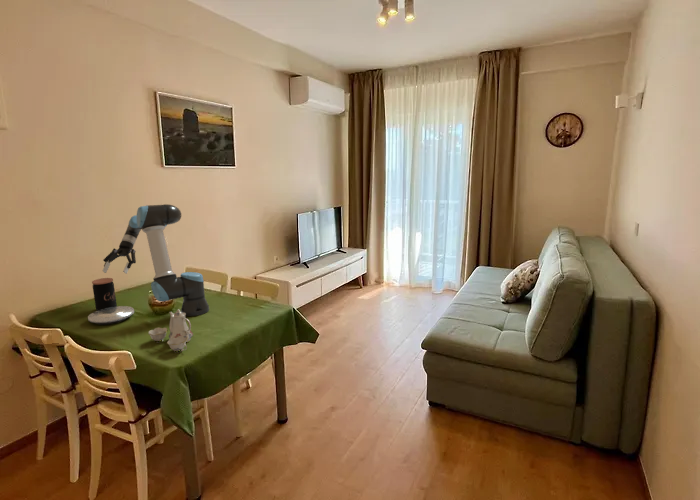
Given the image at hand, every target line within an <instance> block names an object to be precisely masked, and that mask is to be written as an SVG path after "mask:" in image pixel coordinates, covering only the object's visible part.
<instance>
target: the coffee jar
mask: <svg viewBox="0 0 700 500" xmlns="http://www.w3.org/2000/svg"><path fill="white" fill-rule="evenodd" d="M91 284H92V291H93V299H94V304H95V305H94V306H95V310H96V311H98V310H101V309H105V308H110V307H117V297H116V291H115V284H114V278H111V277H104V278H103V277H102V278H97V279H95V280H92V281H91Z"/></svg>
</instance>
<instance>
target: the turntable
mask: <svg viewBox="0 0 700 500" xmlns="http://www.w3.org/2000/svg"><path fill="white" fill-rule="evenodd" d="M134 313H135V309H134V308H133V307H132V306H127V305H120V306H119V305H118V306H117V307H110V308H105V309H101V310H98V311H97V310H96V311H92V312H91V313H90V314H88V316H87V320H88V322H90V323H92V324H96V323H108V322H114V321H118V320H122V319H125V318H127V317H128V318H130V317H131V316H132V315H134ZM128 318H127V319H128Z"/></svg>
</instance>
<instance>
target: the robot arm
mask: <svg viewBox="0 0 700 500" xmlns="http://www.w3.org/2000/svg"><path fill="white" fill-rule="evenodd" d="M181 219H182V212H181V209H180V208H178V207H177V206H175V205H174V204H167V203H165V204H152V205H150V204H149V205H148V204H146V205H143V206H139V207H138V208H137V210H136V215H133V216H131V217H130V219H129V221H128V225H127V226H126V230H125V232H124V235H123V237H121V238H122V239H121V241H120V243H119V246H118V249H116V248H114V247H113V249H112V250H111V251H110V253H108V255H106V257H104V258H103V260H102V261H103V262H104V265H103V269H102V272H103V273H104V274H107V272H108V270H109V268H110V266H111V263H112V262H113V261H115V260H116V259H118V258H119V257H125V258H126V259H127V262H126V264H125V266H124V269H123V271H122V272H123V273H124V274H128V271H129V269H131V267H132V265H133V264H136V262H137V261H136V260H137V259H136V250H135V249H134V246H135V244H136V241H137V239H138V237H139V235H140V233H141V231H142V232H143V233H145V234H146V239H147V243H148V248H149V251H150V257H151V261H152V265H153V270H154V273H155V274H154V275H155V276H154V277H153V281H151V284H150V286H151V287H150V288H151V291H152V295H153V297H154V298H155V299H156V300H157V301H158V302H160V303H161V302H168V301H172V300H177V299H181V298H182V299H183V301H182V305H181V309H180V311H181V312H183V313H186V315H185V317H195V316H201V315H203V314H206V313H208V312H209V311H210V306H209V303H208V300H207V299H206V295H205V282H204V276H203V274H202V273H200V272H196V271H195V272H194V271H186V272H182V273H180V276H177V274H176V272H173V269H172V265H171V260H170V256H169V251H168V248H167V247H168V246H167V243H166V238H165V233H164V230H165V229H166V227H167V226H168V225H173V224H176V223H178V222H180V221H181ZM130 255H131V256H130Z"/></svg>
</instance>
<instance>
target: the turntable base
mask: <svg viewBox="0 0 700 500" xmlns="http://www.w3.org/2000/svg"><path fill="white" fill-rule="evenodd" d="M128 318H129V317H127V318H125V319H122V320H118V321H114V322H108V323H95V324H96V325H99V326H100V325H101V326H102V325H103V326H104V325H114V324H118V323H121V322H123V321H126V320H128Z"/></svg>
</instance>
